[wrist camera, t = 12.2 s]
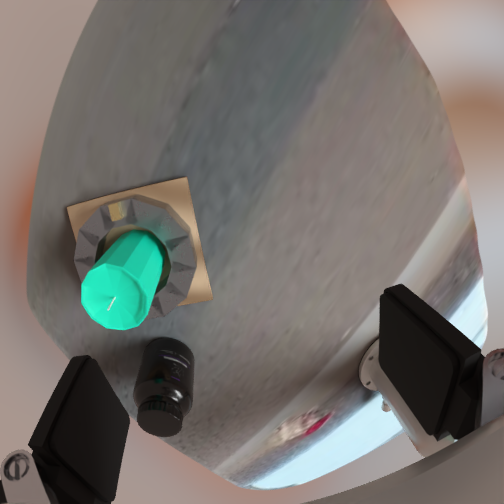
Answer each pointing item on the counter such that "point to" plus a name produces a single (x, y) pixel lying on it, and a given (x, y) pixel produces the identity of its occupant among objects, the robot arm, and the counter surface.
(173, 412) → the supplement bottle
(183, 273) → the steel collar
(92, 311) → the candle
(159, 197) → the oak board
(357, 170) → the counter surface
